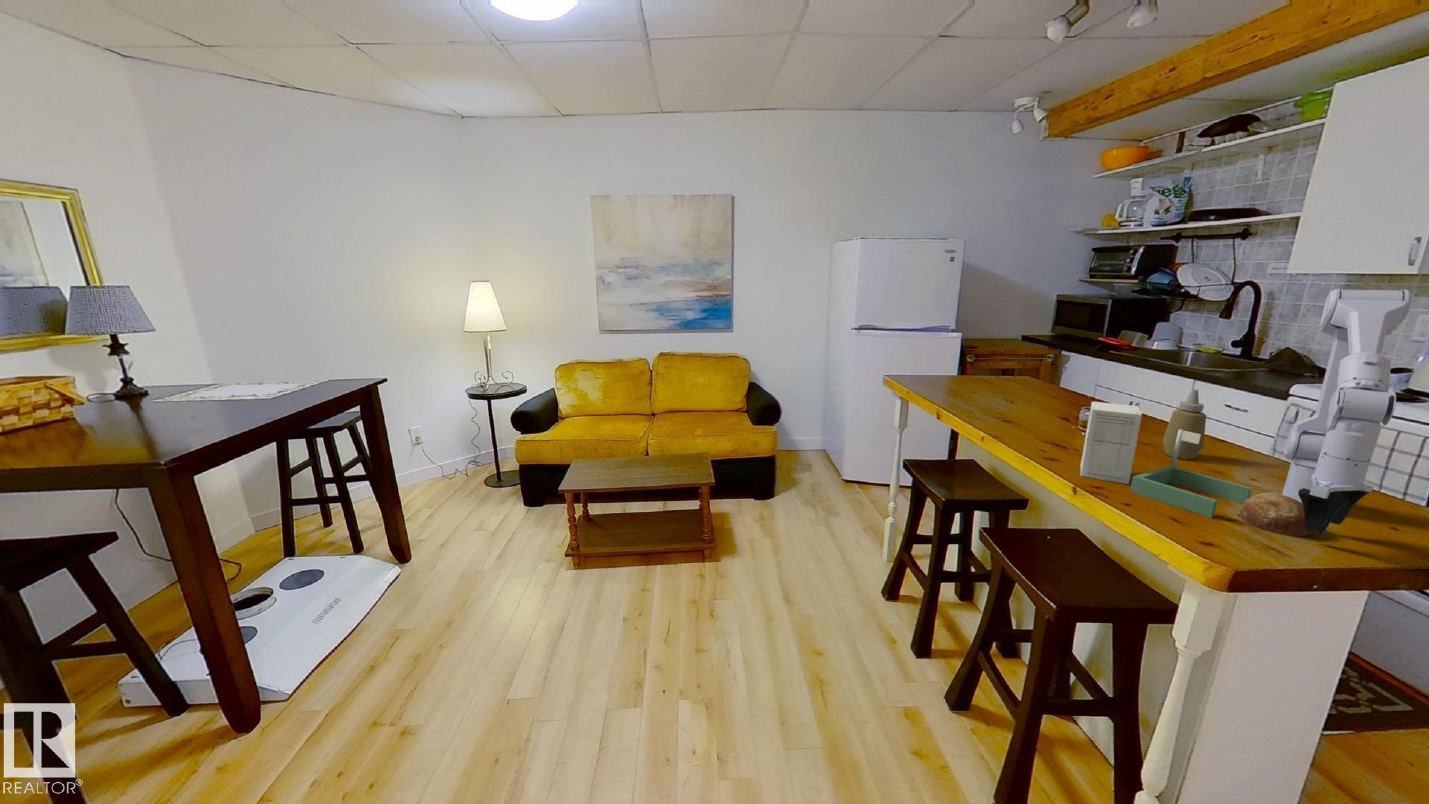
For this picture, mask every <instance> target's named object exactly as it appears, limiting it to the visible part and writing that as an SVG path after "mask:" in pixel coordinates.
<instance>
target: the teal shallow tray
mask: <svg viewBox="0 0 1429 804" xmlns="http://www.w3.org/2000/svg"><path fill="white" fill-rule="evenodd" d="M1200 437H1201V434H1197V433H1192V432H1188V431H1183V430H1182V429H1179V430H1178V435H1177V439H1176V443H1175V448H1174V452H1173V457H1172V456H1171V461H1170V465H1169V466H1165V467H1161V468H1158V469H1154V470H1151V471H1148V472H1145V473H1141V474H1136V475H1134V476H1132V480H1131V483H1130V488H1129V491H1130V492H1131V493H1135V494H1137V495H1141V496H1144V497H1145V498H1146V497H1147V498H1150V499H1153V500H1155V501H1159V502H1162V503H1165V504H1168V505H1171V506H1173V507H1176V508H1179V509H1182V510H1186V511H1189V512H1192V513H1195V514H1198V515H1201V516H1204V517H1208V518H1210V519H1211V518H1214V517H1215V513H1216V509H1217V506H1218V499H1216V498H1215V499H1214V498H1211V497H1208V496H1204V495H1201V494H1198V493H1195V492H1191V491H1188V490H1185V489H1180V488H1179V487H1178V488H1177V487H1175V486H1172V485H1169V484H1170V483H1171V484H1176V485H1177V486H1178V485H1179V486H1182V487H1186V488H1189V489H1192V490H1196V491H1199V492H1202V493H1205V494H1207V495H1208V494H1209V495H1213V496H1215V497H1218V498H1222V499H1226V500H1229V501H1232V502H1235V503H1239V504H1243V505H1244V504H1245V501H1246V499H1249V498H1250V497H1251V494H1252V491H1253V488H1252V487H1250V486H1246V485H1242V484H1239V483H1235V482H1232V481H1228V480H1224V479H1220V478H1217V477H1213V476H1210V475H1206V474H1202V473H1198V472H1195V471H1191V470H1188V469H1184V468H1181V467H1178V466H1176V463H1177V461H1178V460H1177V459H1178V458H1177V456H1178V451H1179V447H1180V443H1181V440H1183V441H1187V442H1191V443H1196V444H1199V441H1200Z"/></svg>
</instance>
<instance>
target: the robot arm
mask: <svg viewBox="0 0 1429 804" xmlns="http://www.w3.org/2000/svg"><path fill="white" fill-rule="evenodd" d="M1324 303H1325V304H1324V307H1323V311H1322V315H1321V320H1320V322H1319V323H1320V324H1319V326H1320V332H1322V333H1324V334H1326V335H1329V336H1330V339H1331V351H1330V353H1329V354H1330V355H1329V357H1328V360H1327V361H1328V362H1327V367H1326V370H1325V374H1324V378H1323V382H1322V386H1321V390H1320V393H1319V397H1318V398H1319V399H1318V402H1317V405H1316V410H1315V412H1314V413H1315V414H1314V415H1313V416H1310V417H1307V418H1303V419H1300V420H1297V421H1295V422H1294V424H1292V425H1291V428H1290V431H1289V433H1288V434H1287V437H1286V442H1285V446H1284V456H1285V457H1286V459H1288V460H1289V459H1290V460H1291V462H1290V465H1289V469H1288V473H1287V476H1286V478H1285V479H1286V480H1285V483H1284V487H1283V490H1282V494H1281V495H1284V496H1288V497H1290V498H1293V499H1295V500H1297V501H1299V502H1300V503H1302V504H1303V508H1304V523H1305V529H1308V530H1311V531H1313V533H1318V534H1323V533H1324V532H1325V531H1326V530H1327V529H1328V527H1329V525H1330V524H1334V525H1341V524H1342V523H1343V522H1344V520H1346V517H1347V516H1348V515H1349V514H1350V512H1351V510H1352V509H1353V507H1354V506H1355V505H1356V504H1357V503H1358V502H1359V501H1360V500H1361V499H1363V497H1365V496H1366V495H1368V494H1369V493H1370V492H1372V491H1373V490H1374V486H1373V485H1370V484H1367V483H1365V479H1366V476H1367V473H1368V471H1369V467H1370V464H1371V460H1372V459H1373V455H1374V452H1375V448H1376V446H1377V443H1378V441H1379V440H1378V439H1379V437H1380V434H1381V431H1382V428H1383V426H1387V425H1388V424H1389V423H1390V421H1391V419H1392V418H1393V416H1394V414H1395V410H1396V405H1397V396H1396V395H1397V394H1396V392H1395V390H1394V389H1395V388H1394V386H1390V383H1391V368H1392V367H1391V366H1392V362H1391V360H1390V359H1389V358H1388V357H1386V356H1385V355H1383V354H1382V353H1383V348H1384V343H1385V340H1386V339H1385V338H1386V337H1387V336H1390V335H1391V334H1392V333H1393V332H1394V331H1396V330H1397V328H1399V326H1400V325H1401V324H1402V322H1404V321H1405V320H1406V319H1407V317H1408V315H1409V313H1410V310H1411V307H1412V303H1413V293H1412V292H1410V290H1408V289H1401V290H1398V289H1397V290H1395V289H1394V290H1390V289H1388V290H1387V289H1385V290H1384V289H1383V290H1382V289H1378V290H1377V289H1340V288H1335V289H1333V290H1331V291H1330V292H1329V293H1328V295H1327V297H1326V300H1325V302H1324ZM1381 423H1382V425H1383V426H1382V425H1381ZM1309 430H1310V431H1309ZM1311 430H1312V431H1311ZM1313 431H1319V432H1313ZM1320 431H1321V432H1326V433H1320Z"/></svg>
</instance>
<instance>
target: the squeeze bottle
mask: <svg viewBox="0 0 1429 804" xmlns="http://www.w3.org/2000/svg"><path fill="white" fill-rule="evenodd" d="M1204 406H1205V405H1204V404H1202V403H1200V401H1199V389H1195V388H1194V389H1191V391H1190V393H1189V394H1188V396H1187V398H1186V400H1185V401H1180V402H1179V405H1178V409H1175V410H1173V411H1172V414H1171V417H1170V419H1169V422H1168V425H1167V428H1166V430H1165V432H1164V436H1163V438H1162V443H1163V448H1164V454H1165V453H1166V454H1165V455H1167V456H1169V457H1171V458H1172V457H1173V452H1174V448H1175V443H1176V439H1177V435H1178V430H1179V429H1182V430H1183V431H1188V432H1192V433H1197V434H1201V437H1200V441H1199V444H1196V443H1191V442H1187V441H1183V440H1181V443H1180V447H1179V451H1178V456H1177V459H1180V458H1181V460H1194V459H1196V457H1198V454H1200V453H1201V451H1202V449H1203V448H1204V441H1205V434H1206V423H1207V414H1205V412H1203V411H1204Z"/></svg>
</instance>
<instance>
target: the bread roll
mask: <svg viewBox="0 0 1429 804" xmlns="http://www.w3.org/2000/svg"><path fill="white" fill-rule="evenodd" d="M1237 515H1238V516H1240V518H1241V520H1242V521H1244V522H1245V524H1247V525H1249V526H1252V527H1254V528H1256V529H1259V530H1263V531H1265V532H1269V533H1274V534H1281V535H1287V536H1288V535H1289V536H1294V537H1305V536H1309V535H1311V534H1313V533H1314V531H1311V530H1308V529H1305V523H1304V508H1303V504H1302V503H1300V502H1299V501H1297V500H1295V499H1293V498H1290V497H1288V496H1284V495H1282V494H1281V493H1277V492H1263V493H1262V492H1261V493H1258V494H1255V495H1252V496H1250V498H1249V499H1246V501H1245V504H1243V505H1242V507H1241V510H1240V511H1239V512H1237Z"/></svg>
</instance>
